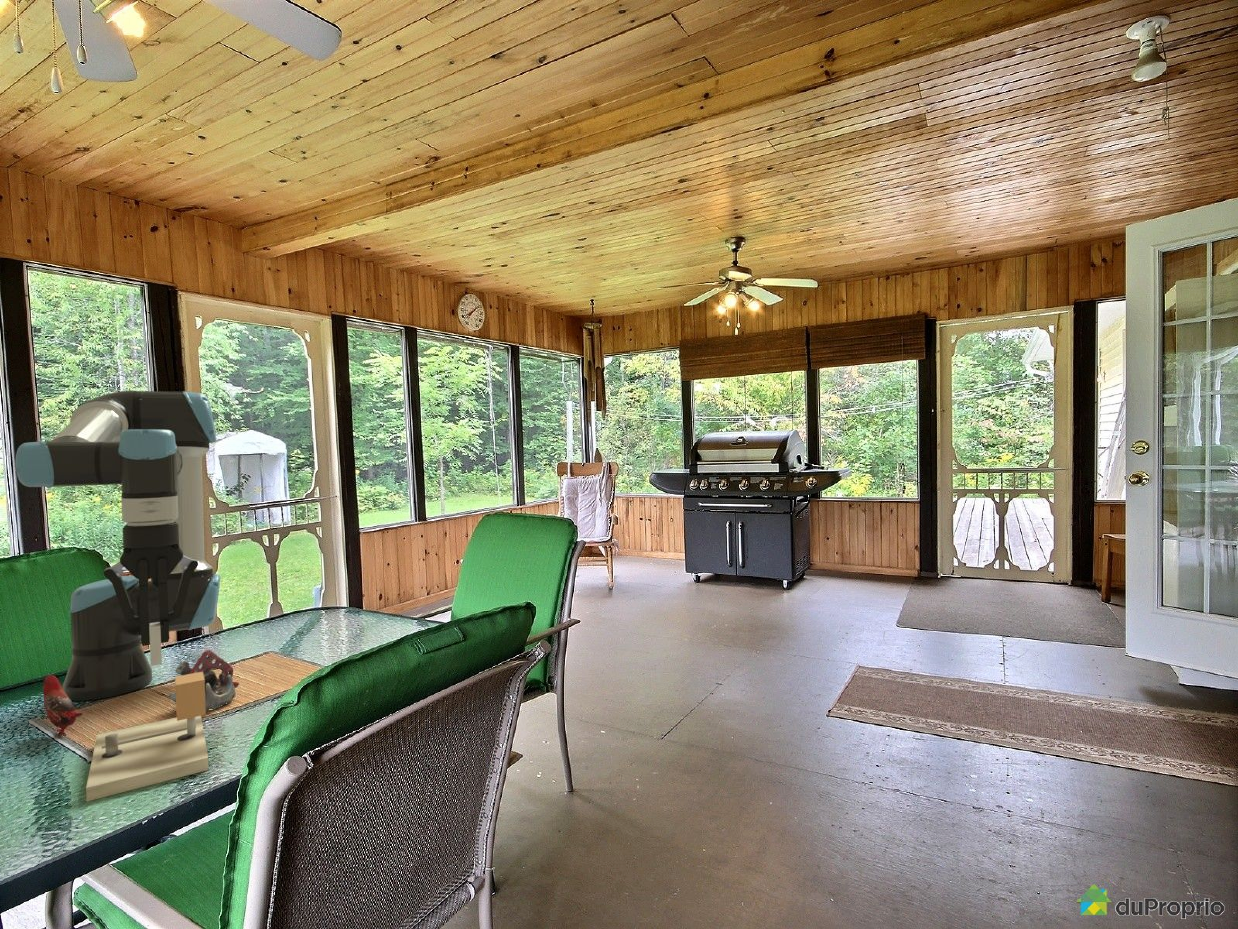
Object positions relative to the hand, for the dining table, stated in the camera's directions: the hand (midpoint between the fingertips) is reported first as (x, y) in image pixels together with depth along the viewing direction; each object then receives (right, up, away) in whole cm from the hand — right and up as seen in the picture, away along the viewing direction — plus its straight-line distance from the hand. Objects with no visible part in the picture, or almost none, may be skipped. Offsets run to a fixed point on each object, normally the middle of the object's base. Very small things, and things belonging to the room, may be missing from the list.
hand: (156, 662), depth 107 cm
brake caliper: (-6, -15, +22) cm, 27 cm away
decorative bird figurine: (-22, -16, +8) cm, 28 cm away
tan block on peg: (+4, -13, +3) cm, 14 cm away
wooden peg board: (-1, -16, -1) cm, 16 cm away
